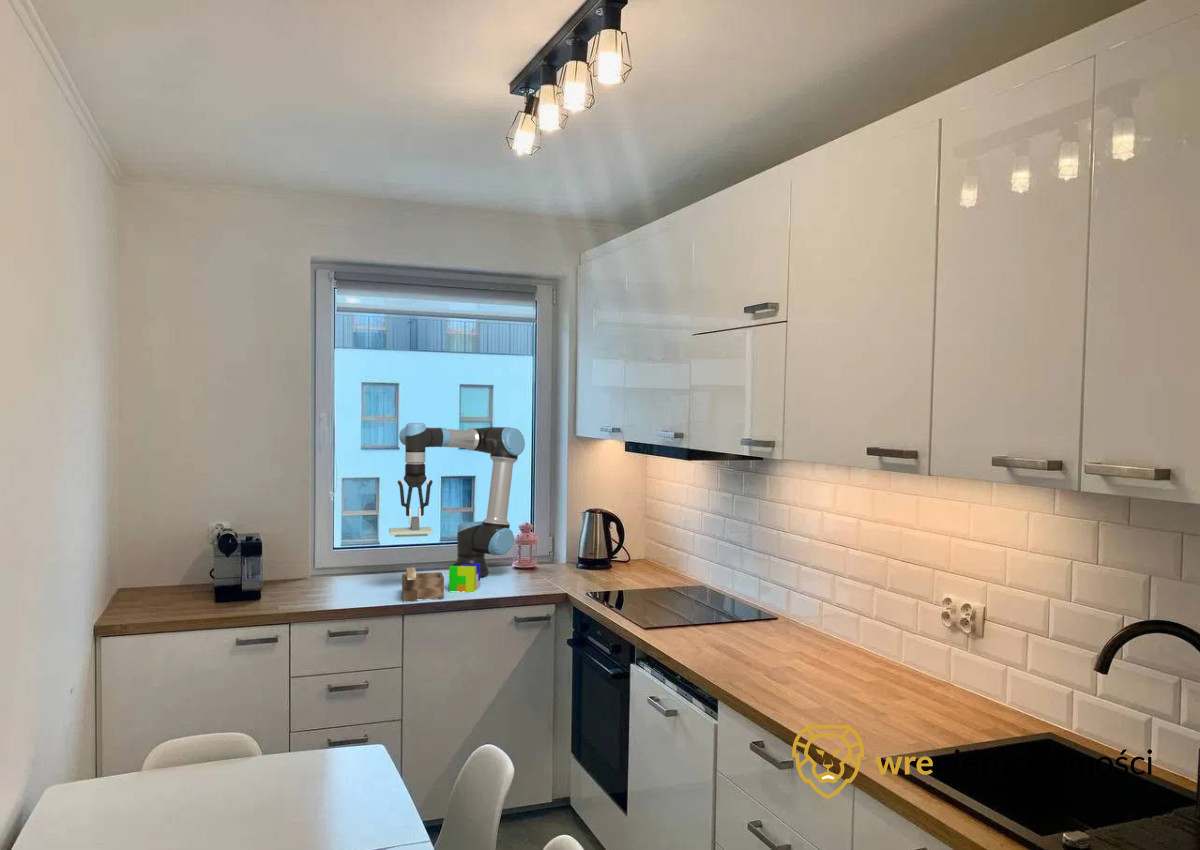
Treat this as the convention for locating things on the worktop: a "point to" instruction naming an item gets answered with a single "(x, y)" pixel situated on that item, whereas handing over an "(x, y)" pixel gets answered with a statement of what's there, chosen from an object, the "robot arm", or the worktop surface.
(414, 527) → the lid
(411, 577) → the light wooden block
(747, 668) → the worktop surface
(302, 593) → the worktop surface
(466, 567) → the puzzle toy
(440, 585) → the box
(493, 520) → the robot arm
